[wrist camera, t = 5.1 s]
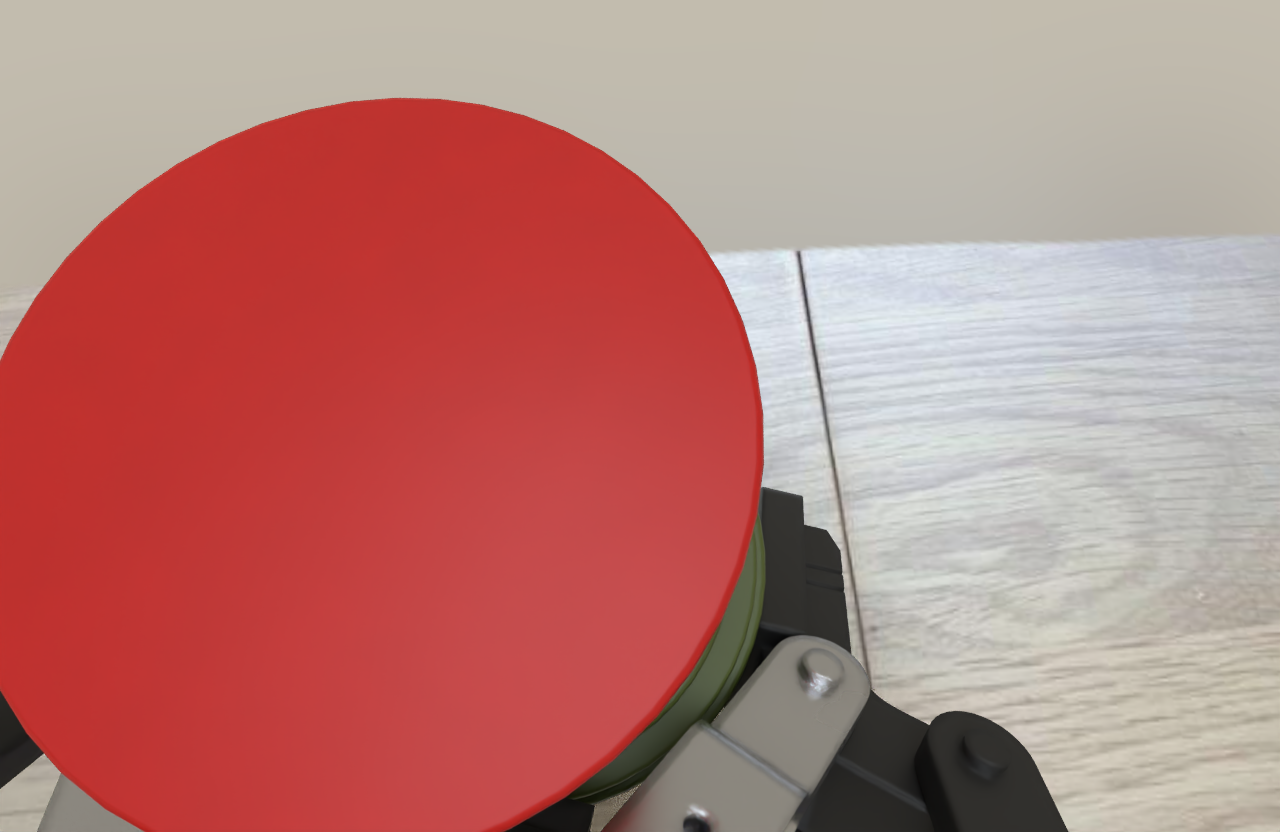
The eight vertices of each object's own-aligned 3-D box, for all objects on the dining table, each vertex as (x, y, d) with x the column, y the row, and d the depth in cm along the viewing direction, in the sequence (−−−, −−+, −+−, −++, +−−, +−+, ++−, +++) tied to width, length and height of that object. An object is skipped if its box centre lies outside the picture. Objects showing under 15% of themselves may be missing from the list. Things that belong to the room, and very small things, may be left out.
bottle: (463, 691, 20) (-367, 877, 4) (524, 482, 22) (144, -27, 5) (676, 746, 20) (821, 1248, 3) (721, 529, 22) (966, 125, 5)
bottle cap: (212, 694, 7) (-222, 739, 3) (365, 298, 8) (156, 37, 5) (657, 812, 7) (666, 994, 3) (747, 380, 8) (823, 166, 4)
